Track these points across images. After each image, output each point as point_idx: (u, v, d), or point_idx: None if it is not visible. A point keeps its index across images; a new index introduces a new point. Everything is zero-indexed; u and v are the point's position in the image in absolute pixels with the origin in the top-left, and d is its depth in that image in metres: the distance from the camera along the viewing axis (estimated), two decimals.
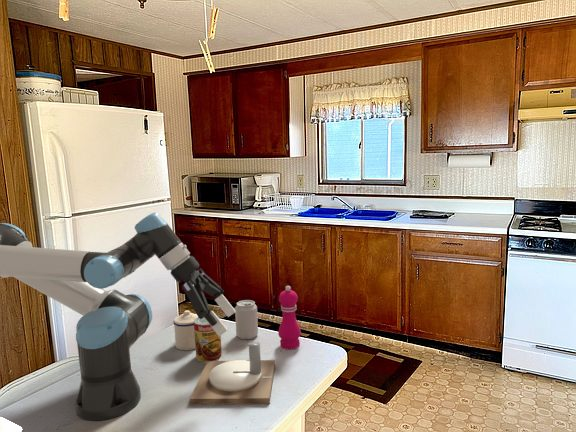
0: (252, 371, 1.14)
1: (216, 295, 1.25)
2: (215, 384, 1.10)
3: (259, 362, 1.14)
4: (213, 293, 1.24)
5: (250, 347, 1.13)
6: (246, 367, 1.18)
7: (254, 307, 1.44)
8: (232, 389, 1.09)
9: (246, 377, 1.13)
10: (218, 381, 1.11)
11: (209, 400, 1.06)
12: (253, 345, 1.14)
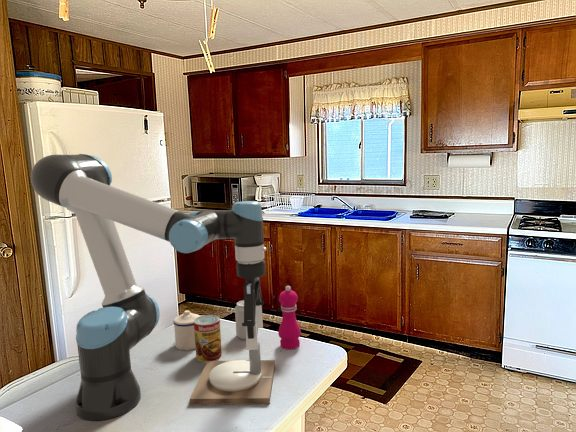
0: (252, 371, 1.14)
1: (255, 303, 1.20)
2: (215, 384, 1.10)
3: (259, 362, 1.14)
4: None
5: None
6: (246, 367, 1.18)
7: None
8: (232, 389, 1.09)
9: (246, 377, 1.13)
10: (218, 381, 1.11)
11: (209, 400, 1.06)
12: None
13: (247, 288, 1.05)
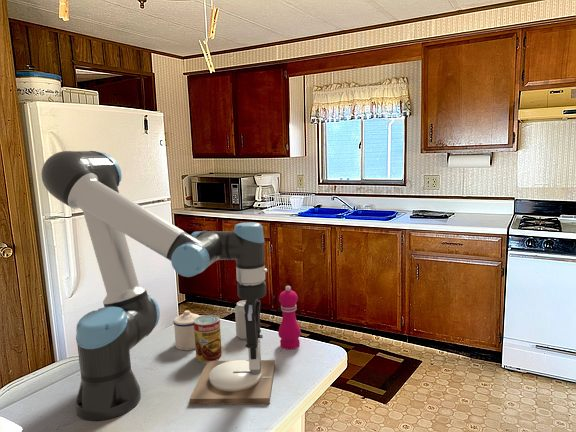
0: (252, 371, 1.14)
1: None
2: (215, 384, 1.10)
3: (259, 362, 1.14)
4: None
5: None
6: (246, 367, 1.18)
7: None
8: (232, 389, 1.09)
9: (246, 377, 1.13)
10: (218, 381, 1.11)
11: (209, 400, 1.06)
12: None
13: (248, 317, 1.07)
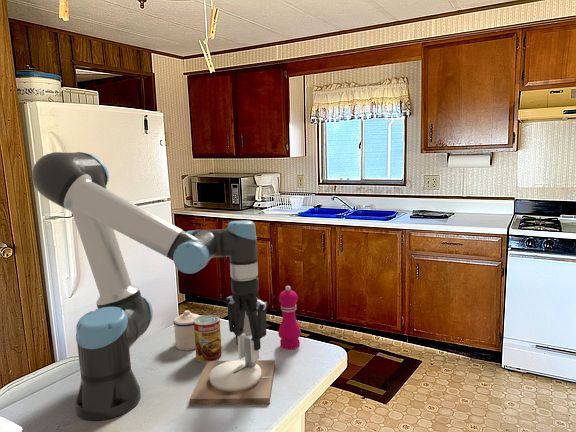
0: (252, 364, 1.18)
1: (239, 333, 1.19)
2: (235, 387, 1.09)
3: None
4: (240, 326, 1.19)
5: (249, 341, 1.17)
6: (236, 365, 1.19)
7: None
8: (253, 383, 1.11)
9: (251, 370, 1.16)
10: (235, 383, 1.10)
11: (209, 400, 1.06)
12: None
13: (264, 306, 1.14)
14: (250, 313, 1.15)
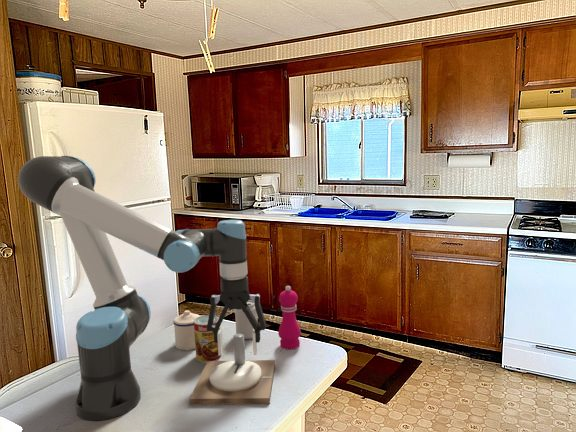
0: (244, 361, 1.20)
1: (217, 329, 1.20)
2: (252, 382, 1.11)
3: None
4: (220, 324, 1.19)
5: (242, 338, 1.19)
6: (228, 367, 1.19)
7: (254, 307, 1.44)
8: None
9: (248, 366, 1.19)
10: (249, 380, 1.11)
11: (209, 400, 1.06)
12: (241, 336, 1.20)
13: (259, 297, 1.18)
14: (246, 308, 1.17)
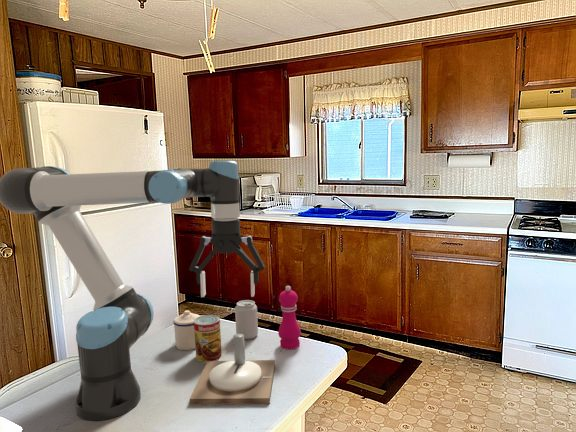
0: (244, 361, 1.20)
1: (200, 270, 1.16)
2: (252, 382, 1.11)
3: None
4: None
5: (242, 338, 1.19)
6: (228, 367, 1.19)
7: (254, 307, 1.44)
8: None
9: (248, 366, 1.19)
10: (249, 380, 1.11)
11: (209, 400, 1.06)
12: (241, 336, 1.20)
13: (251, 238, 1.14)
14: (240, 250, 1.14)
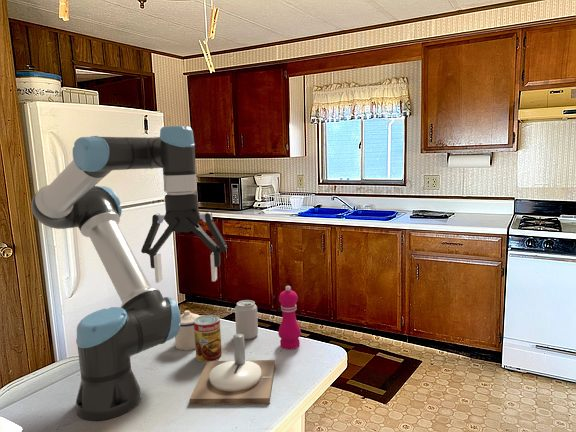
0: (244, 361, 1.20)
1: (155, 252, 1.02)
2: (252, 382, 1.11)
3: None
4: (159, 247, 1.02)
5: (242, 338, 1.19)
6: (228, 367, 1.19)
7: (254, 307, 1.44)
8: None
9: (248, 366, 1.19)
10: (249, 380, 1.11)
11: (209, 400, 1.06)
12: (241, 336, 1.20)
13: (210, 215, 1.01)
14: (197, 229, 1.00)
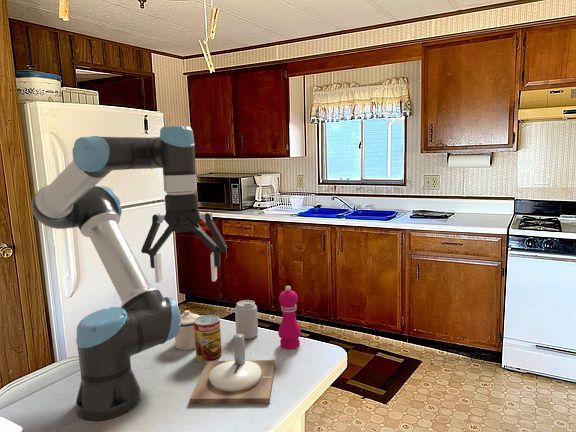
0: (244, 361, 1.20)
1: (155, 252, 1.02)
2: (252, 382, 1.11)
3: None
4: (159, 247, 1.02)
5: (242, 338, 1.19)
6: (228, 367, 1.19)
7: (254, 307, 1.44)
8: None
9: (248, 366, 1.19)
10: (249, 380, 1.11)
11: (209, 400, 1.06)
12: (241, 336, 1.20)
13: (210, 215, 1.01)
14: (197, 229, 1.00)
